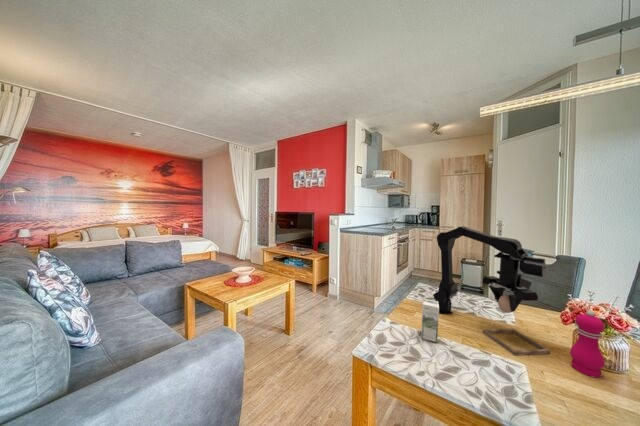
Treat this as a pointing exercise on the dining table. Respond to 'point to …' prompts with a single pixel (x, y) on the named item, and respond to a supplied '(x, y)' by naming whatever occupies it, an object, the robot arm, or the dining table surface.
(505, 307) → the egg
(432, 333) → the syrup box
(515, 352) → the walnut frame
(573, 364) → the pepper mill
